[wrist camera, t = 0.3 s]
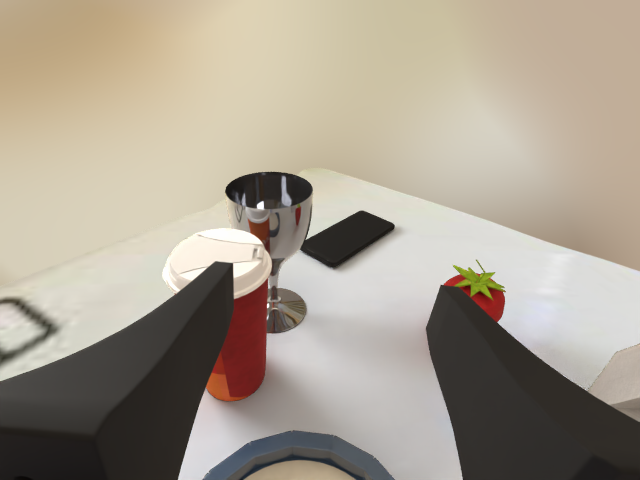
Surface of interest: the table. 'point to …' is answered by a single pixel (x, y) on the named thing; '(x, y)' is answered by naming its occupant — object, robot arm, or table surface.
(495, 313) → the strawberry
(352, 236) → the smartphone
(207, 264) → the paper cup
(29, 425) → the robot arm
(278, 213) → the silver metal goblet
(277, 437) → the plate
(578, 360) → the table surface
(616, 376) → the milk carton
